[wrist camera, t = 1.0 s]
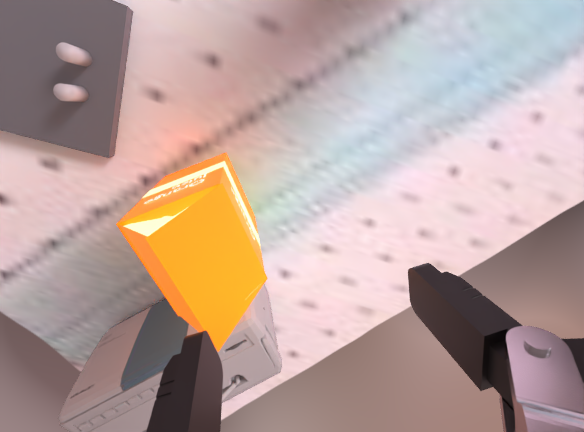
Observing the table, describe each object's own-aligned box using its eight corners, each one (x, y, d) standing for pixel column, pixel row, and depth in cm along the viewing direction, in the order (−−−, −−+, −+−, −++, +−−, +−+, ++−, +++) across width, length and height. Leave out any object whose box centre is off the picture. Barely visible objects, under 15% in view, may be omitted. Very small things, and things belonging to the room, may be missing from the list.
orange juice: (199, 239, 36) (160, 377, 18) (163, 176, 33) (70, 264, 14) (256, 216, 36) (277, 328, 18) (227, 151, 33) (217, 206, 15)
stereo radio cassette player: (246, 248, 38) (255, 382, 19) (274, 292, 41) (305, 442, 23) (106, 322, 38) (-16, 525, 19) (146, 360, 41) (73, 564, 23)
